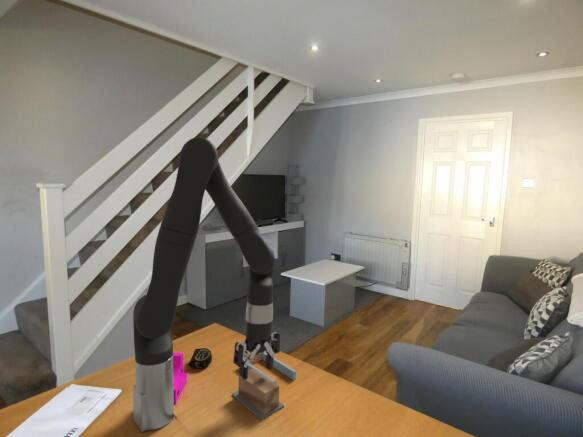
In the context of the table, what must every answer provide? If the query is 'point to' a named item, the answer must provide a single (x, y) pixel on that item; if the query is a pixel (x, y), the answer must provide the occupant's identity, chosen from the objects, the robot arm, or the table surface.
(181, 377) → the toy block
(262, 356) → the channel
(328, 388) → the table surface
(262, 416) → the mat
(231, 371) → the table surface
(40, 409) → the table surface
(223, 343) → the table surface
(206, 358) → the tape measure
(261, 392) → the block
